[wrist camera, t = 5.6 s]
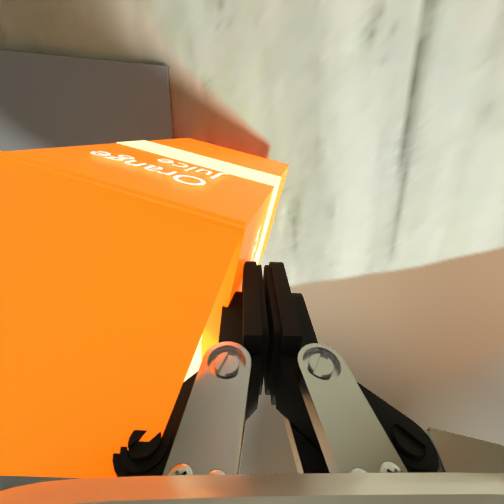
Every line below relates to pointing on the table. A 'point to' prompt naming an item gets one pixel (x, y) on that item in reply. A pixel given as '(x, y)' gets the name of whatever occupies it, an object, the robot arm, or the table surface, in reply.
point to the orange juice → (116, 288)
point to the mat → (80, 101)
